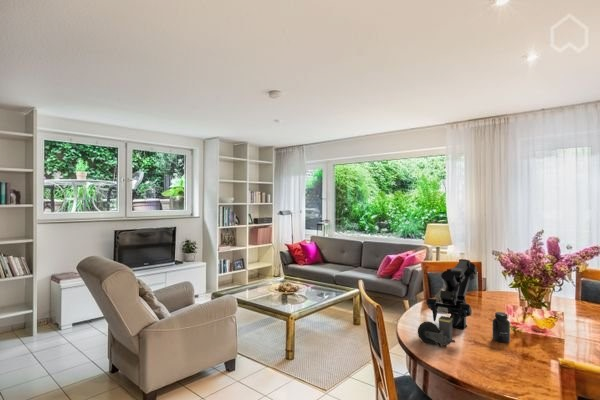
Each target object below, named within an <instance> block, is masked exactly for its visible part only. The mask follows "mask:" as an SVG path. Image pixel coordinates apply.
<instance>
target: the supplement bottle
mask: <svg viewBox="0 0 600 400" xmlns="http://www.w3.org/2000/svg"><path fill="white" fill-rule="evenodd" d="M508 319H509V318H508V314H507V313H506V312H501V311H496V312H495V313H494V318H493V319H492V339H493V341H494V342H497V343H500V344H508V343H510V341H511V322H510V321H509V320H508Z"/></svg>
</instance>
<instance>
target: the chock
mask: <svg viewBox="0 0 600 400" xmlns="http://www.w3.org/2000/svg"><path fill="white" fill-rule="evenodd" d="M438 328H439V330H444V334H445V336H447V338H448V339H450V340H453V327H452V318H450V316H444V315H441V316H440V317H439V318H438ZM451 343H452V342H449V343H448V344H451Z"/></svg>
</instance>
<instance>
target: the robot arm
mask: <svg viewBox="0 0 600 400" xmlns="http://www.w3.org/2000/svg"><path fill="white" fill-rule="evenodd" d="M477 268H478V267H477V265H476V264H475V263H472V262H471V260H469V259H465V258H464V259H462V258H461V259H459V260H458V263H457V264H456V265H455V266H454V267H452V268H451V267H450V268H447V269H446V270H445V271H443V272H441V275H440V277H441V279H442V282H443V284H444V285H445V286H446V288H445V291H440V290H439V291H440V298H441V301H442V303H439V302H437V301H436V299H435V298H431V297H428V298H427V299H426V301H425V304H426V305H427V308H428V309H430V311H432V319H433V323H434V322H436V321H437V320H436V319H437V315H438V307H443V308H448V312H447V314H448V315H449V317H450V318H452V328H453V329H454V328H455V329H459V330H465V329H466V328H467V327H468V324H467V317H470V316H472V308H471V305H470V304H469V303H467V302H466V301H467V300H466V296H467V292H468V289H469V286H470V282H471V281H472V280H473V279H475V277H476V275H477V274H478V269H477Z"/></svg>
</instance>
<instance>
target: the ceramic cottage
mask: <svg viewBox="0 0 600 400" xmlns="http://www.w3.org/2000/svg"><path fill="white" fill-rule="evenodd" d="M445 288H446V286H445V285H444V283H443V285H442V288H441V289H440V290H439V291H438V292H437V293H436V294H435V295H434V297H435V298H434V299H436V301H437V302H439V303H442V301H441V298H440V291H445ZM437 311H442V312H445V313H448V308H443V307H438V309H437Z"/></svg>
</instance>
